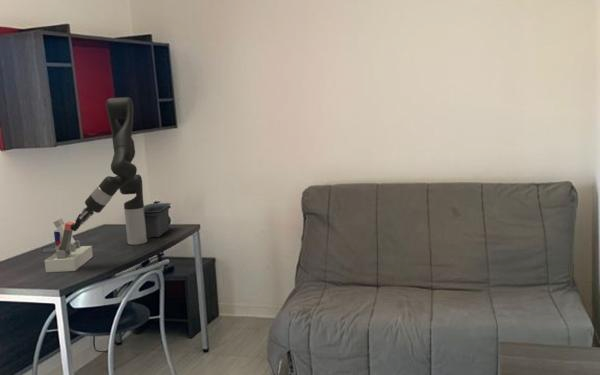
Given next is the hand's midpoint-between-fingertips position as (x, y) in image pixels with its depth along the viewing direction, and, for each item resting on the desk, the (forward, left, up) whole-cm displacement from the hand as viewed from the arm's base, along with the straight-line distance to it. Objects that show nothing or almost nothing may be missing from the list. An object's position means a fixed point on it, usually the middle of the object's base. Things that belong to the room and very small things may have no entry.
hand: (73, 229), depth 251 cm
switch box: (-6, -5, -16) cm, 18 cm away
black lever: (0, -5, -10) cm, 11 cm away
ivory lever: (-11, -5, -10) cm, 16 cm away
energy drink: (-21, -14, -16) cm, 30 cm away
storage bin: (-57, +19, -17) cm, 62 cm away
